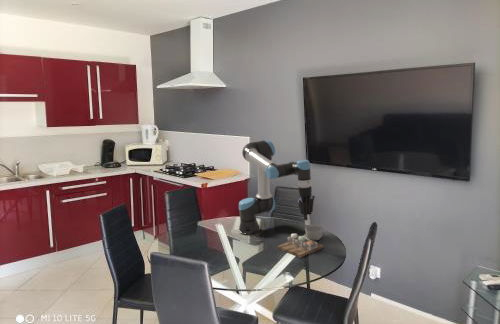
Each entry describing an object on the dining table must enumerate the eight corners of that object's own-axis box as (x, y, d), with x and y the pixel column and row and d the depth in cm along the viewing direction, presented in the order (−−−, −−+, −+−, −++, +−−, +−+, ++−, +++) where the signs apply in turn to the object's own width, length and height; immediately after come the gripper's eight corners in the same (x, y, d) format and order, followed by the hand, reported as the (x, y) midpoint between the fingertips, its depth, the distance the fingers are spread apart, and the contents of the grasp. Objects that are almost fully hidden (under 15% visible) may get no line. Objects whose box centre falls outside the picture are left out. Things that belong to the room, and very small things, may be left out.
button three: (305, 247, 224) (305, 242, 223) (310, 245, 226) (309, 240, 226) (310, 249, 221) (309, 244, 220) (315, 247, 223) (314, 242, 222)
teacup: (322, 242, 234) (321, 230, 233) (305, 242, 237) (304, 230, 235) (322, 234, 248) (322, 222, 247) (306, 234, 250) (305, 223, 249)
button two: (297, 242, 229) (297, 237, 229) (302, 240, 232) (301, 235, 231) (301, 243, 226) (301, 238, 226) (306, 241, 228) (306, 237, 228)
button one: (289, 239, 235) (289, 234, 235) (294, 237, 237) (294, 232, 237) (294, 240, 232) (293, 236, 231) (298, 238, 234) (298, 234, 234)
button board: (277, 248, 231) (277, 241, 230) (300, 239, 242) (299, 232, 241) (300, 257, 215) (299, 249, 214) (322, 247, 226) (322, 240, 225)
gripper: (301, 189, 211) (304, 229, 215) (317, 184, 219) (319, 223, 223) (292, 187, 217) (295, 226, 221) (308, 183, 225) (310, 220, 229)
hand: (307, 224), depth 222 cm, fingers closed
